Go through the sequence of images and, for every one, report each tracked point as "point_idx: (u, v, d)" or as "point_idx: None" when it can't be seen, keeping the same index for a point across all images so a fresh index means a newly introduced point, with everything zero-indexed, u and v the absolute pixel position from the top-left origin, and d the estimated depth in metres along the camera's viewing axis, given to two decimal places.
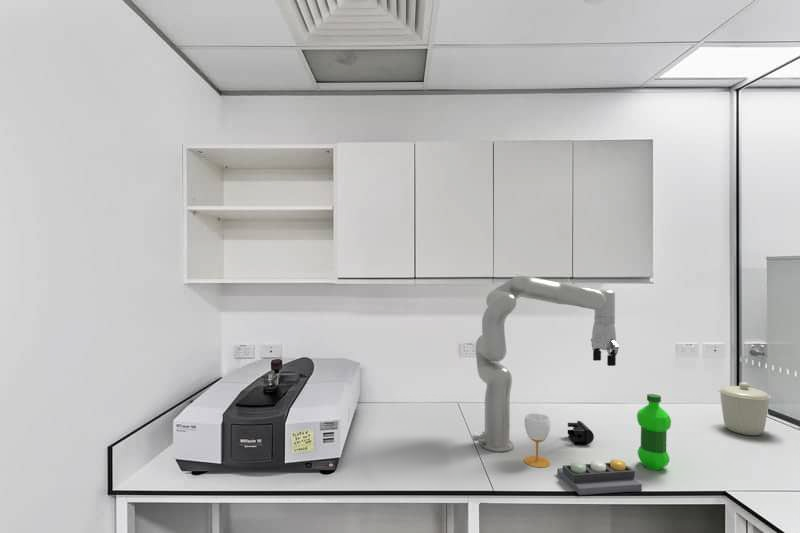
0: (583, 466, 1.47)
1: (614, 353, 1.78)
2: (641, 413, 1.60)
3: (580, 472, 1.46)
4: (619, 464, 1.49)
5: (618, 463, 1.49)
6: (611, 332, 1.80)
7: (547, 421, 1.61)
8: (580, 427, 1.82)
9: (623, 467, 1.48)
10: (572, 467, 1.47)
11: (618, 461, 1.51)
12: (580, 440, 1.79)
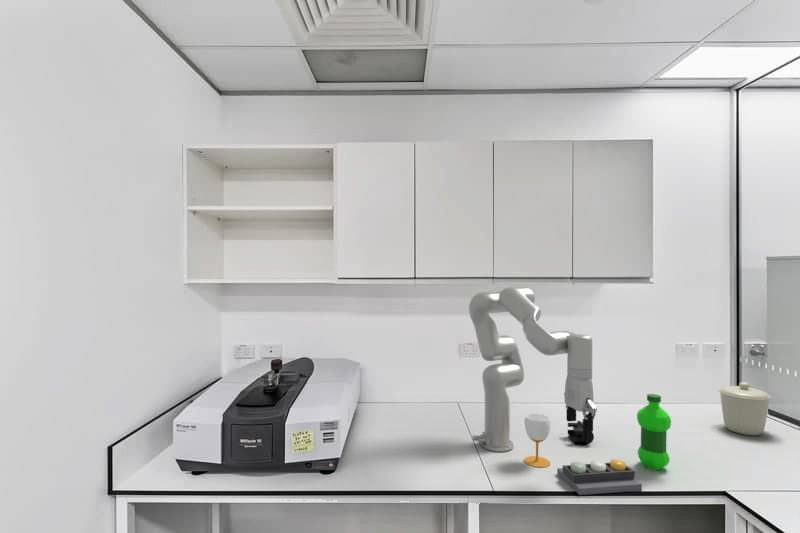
0: (583, 466, 1.47)
1: (591, 417, 1.41)
2: (641, 413, 1.60)
3: (580, 472, 1.46)
4: (619, 464, 1.49)
5: (618, 463, 1.49)
6: (587, 389, 1.43)
7: (547, 421, 1.61)
8: (580, 427, 1.82)
9: (623, 467, 1.48)
10: (572, 467, 1.47)
11: (618, 461, 1.51)
12: (580, 440, 1.79)
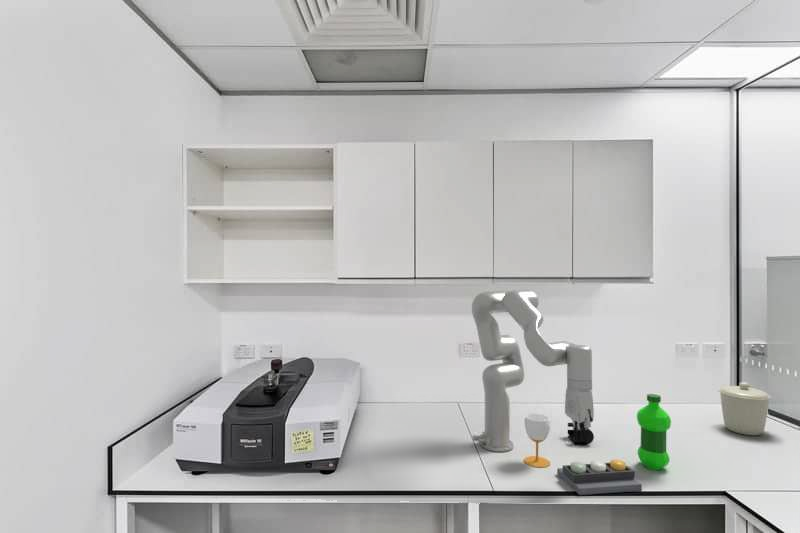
0: (583, 466, 1.47)
1: (583, 427, 1.45)
2: (641, 413, 1.60)
3: (580, 472, 1.46)
4: (619, 464, 1.49)
5: (618, 463, 1.49)
6: (587, 400, 1.43)
7: (547, 421, 1.61)
8: None
9: (623, 467, 1.48)
10: (572, 467, 1.47)
11: (618, 461, 1.51)
12: None
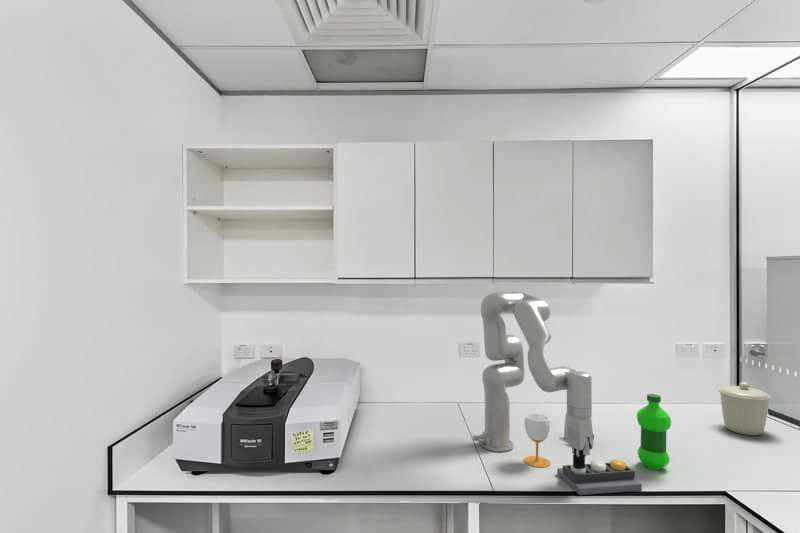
0: (583, 468, 1.47)
1: (582, 454, 1.45)
2: (641, 413, 1.60)
3: None
4: (619, 464, 1.49)
5: (618, 463, 1.49)
6: (587, 428, 1.43)
7: (547, 421, 1.61)
8: None
9: (623, 467, 1.48)
10: (572, 469, 1.47)
11: (618, 461, 1.51)
12: None
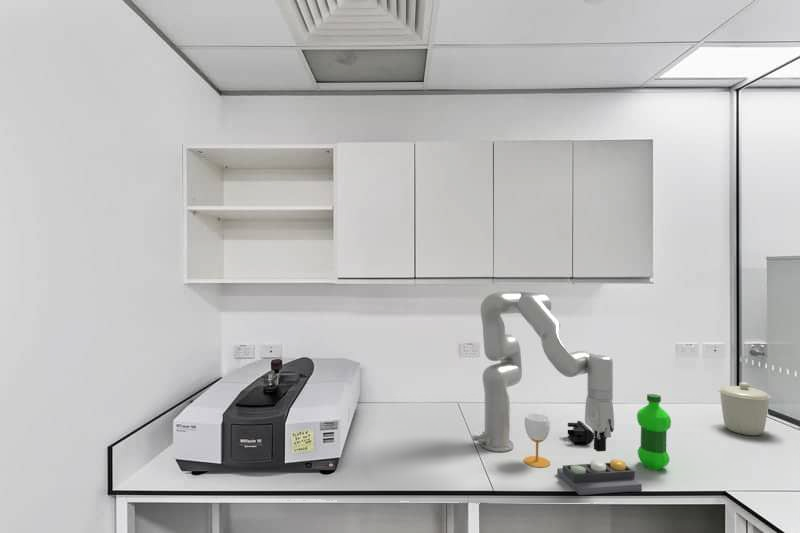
0: (583, 469, 1.47)
1: (603, 437, 1.46)
2: (641, 413, 1.60)
3: None
4: (619, 464, 1.49)
5: (618, 463, 1.49)
6: (608, 411, 1.44)
7: (547, 421, 1.61)
8: (580, 427, 1.82)
9: (623, 467, 1.48)
10: (572, 470, 1.47)
11: (618, 461, 1.51)
12: (580, 440, 1.79)
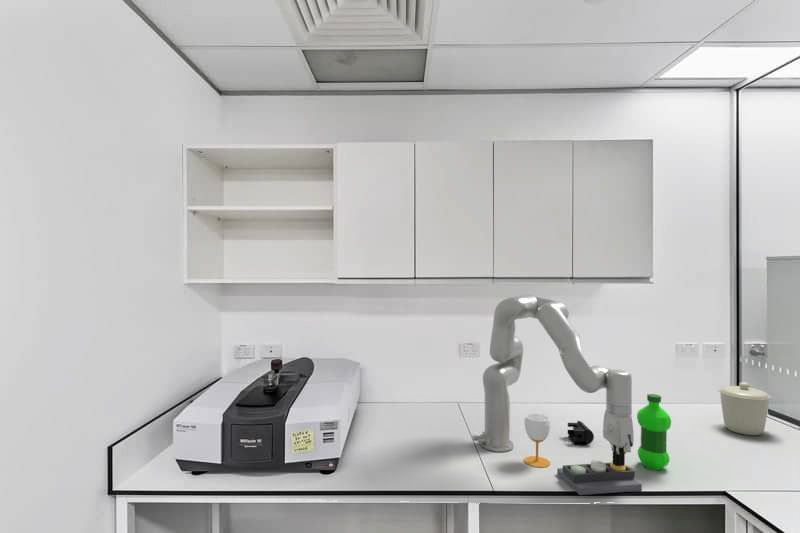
0: (583, 469, 1.47)
1: (623, 452, 1.47)
2: (641, 413, 1.60)
3: None
4: (619, 466, 1.49)
5: None
6: (627, 426, 1.45)
7: (547, 421, 1.61)
8: (580, 427, 1.82)
9: (623, 469, 1.48)
10: (572, 470, 1.47)
11: None
12: (580, 440, 1.79)
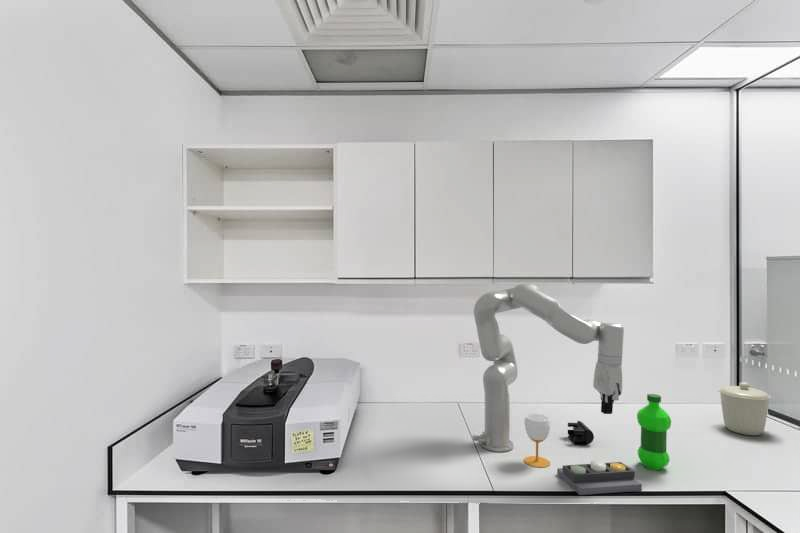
0: (583, 469, 1.47)
1: (611, 400, 1.53)
2: (641, 413, 1.60)
3: None
4: (619, 467, 1.49)
5: (618, 466, 1.50)
6: (617, 375, 1.51)
7: (547, 421, 1.61)
8: (580, 427, 1.82)
9: (623, 470, 1.48)
10: (572, 470, 1.47)
11: (618, 464, 1.51)
12: (580, 440, 1.79)
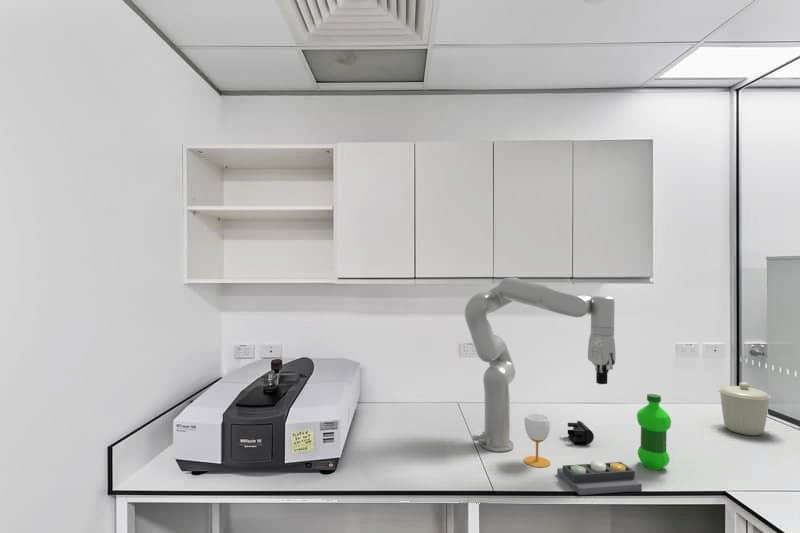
0: (583, 469, 1.47)
1: (605, 370, 1.58)
2: (641, 413, 1.60)
3: None
4: (619, 467, 1.49)
5: (618, 466, 1.50)
6: (610, 345, 1.56)
7: (547, 421, 1.61)
8: (580, 427, 1.82)
9: (623, 470, 1.48)
10: (572, 470, 1.47)
11: (618, 464, 1.51)
12: (580, 440, 1.79)
